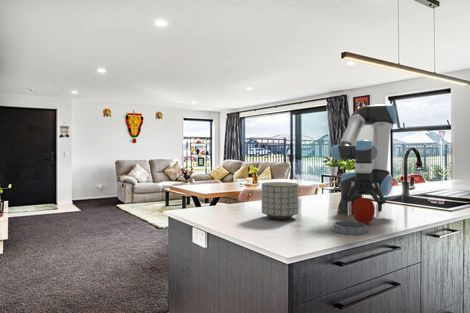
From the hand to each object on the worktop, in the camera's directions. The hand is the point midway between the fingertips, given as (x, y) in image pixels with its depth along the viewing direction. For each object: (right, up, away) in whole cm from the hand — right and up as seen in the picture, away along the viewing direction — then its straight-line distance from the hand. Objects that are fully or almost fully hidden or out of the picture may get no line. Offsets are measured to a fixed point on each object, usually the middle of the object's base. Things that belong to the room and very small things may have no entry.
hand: (363, 216), depth 162 cm
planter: (-38, -4, +15) cm, 41 cm away
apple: (0, -4, 0) cm, 4 cm away
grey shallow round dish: (-11, -4, -14) cm, 18 cm away
